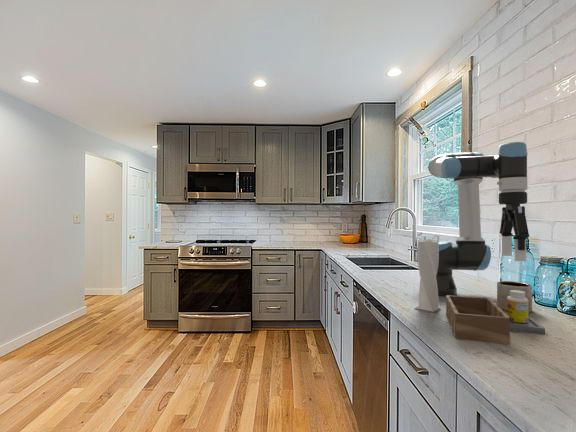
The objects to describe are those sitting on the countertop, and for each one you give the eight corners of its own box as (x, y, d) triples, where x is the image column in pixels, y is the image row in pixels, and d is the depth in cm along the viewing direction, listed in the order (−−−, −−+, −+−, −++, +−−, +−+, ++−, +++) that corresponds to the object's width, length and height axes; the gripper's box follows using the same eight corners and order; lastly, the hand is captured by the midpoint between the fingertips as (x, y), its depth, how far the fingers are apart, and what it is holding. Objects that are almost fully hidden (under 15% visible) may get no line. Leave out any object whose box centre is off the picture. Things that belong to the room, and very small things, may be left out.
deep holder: (445, 314, 115) (445, 295, 115) (489, 318, 110) (489, 298, 111) (455, 338, 93) (455, 313, 93) (511, 344, 88) (510, 318, 88)
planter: (538, 314, 115) (538, 287, 115) (504, 312, 117) (504, 286, 117) (523, 306, 126) (522, 281, 126) (492, 305, 128) (491, 280, 128)
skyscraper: (444, 309, 121) (443, 234, 122) (436, 314, 116) (435, 235, 116) (422, 305, 127) (421, 234, 128) (413, 309, 122) (412, 235, 122)
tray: (492, 319, 110) (492, 314, 110) (531, 322, 106) (531, 317, 106) (501, 329, 99) (501, 324, 99) (545, 333, 96) (545, 328, 96)
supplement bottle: (505, 320, 106) (505, 288, 106) (525, 322, 104) (525, 290, 104) (509, 325, 101) (509, 292, 101) (531, 327, 99) (530, 294, 99)
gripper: (489, 194, 117) (490, 253, 117) (510, 189, 93) (511, 263, 93) (514, 193, 114) (514, 253, 114) (542, 188, 91) (543, 264, 91)
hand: (513, 258), depth 104 cm, fingers open, 13 cm apart
